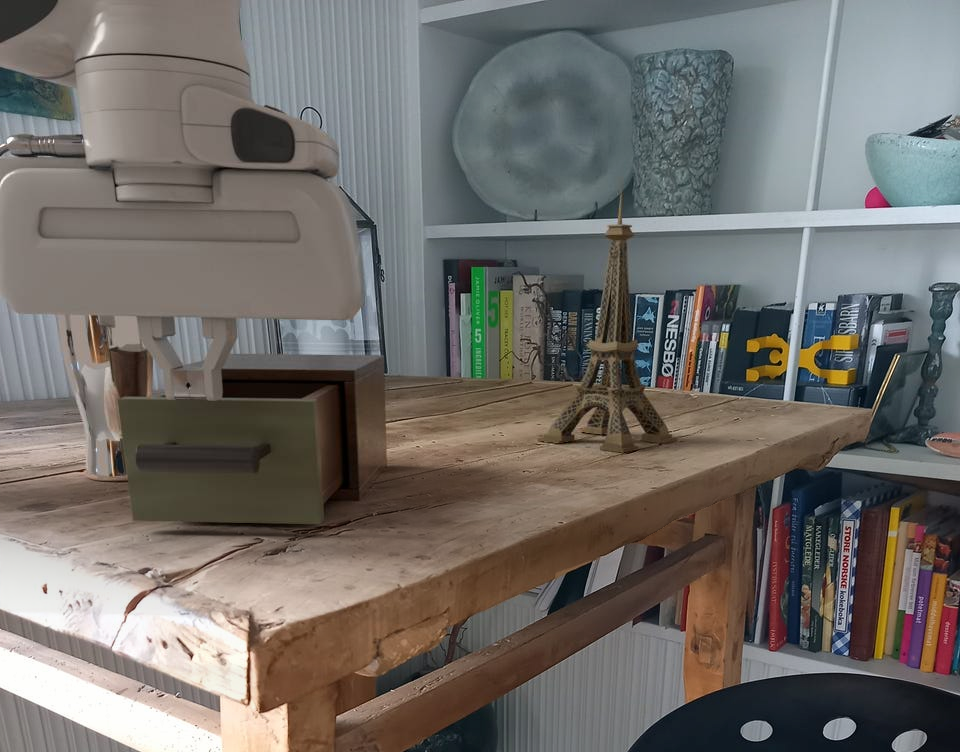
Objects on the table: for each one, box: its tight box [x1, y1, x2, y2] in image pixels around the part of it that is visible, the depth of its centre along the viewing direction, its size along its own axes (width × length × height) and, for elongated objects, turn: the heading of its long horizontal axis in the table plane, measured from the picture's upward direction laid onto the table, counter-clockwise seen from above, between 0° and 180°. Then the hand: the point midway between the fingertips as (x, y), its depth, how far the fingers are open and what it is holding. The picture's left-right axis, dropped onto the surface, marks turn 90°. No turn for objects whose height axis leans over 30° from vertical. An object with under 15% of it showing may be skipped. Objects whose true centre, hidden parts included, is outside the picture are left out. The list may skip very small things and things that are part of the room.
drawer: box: [117, 381, 347, 525], centre depth 63 cm, size 18×12×8 cm
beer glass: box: [57, 315, 154, 482], centre depth 77 cm, size 7×7×15 cm
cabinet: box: [183, 353, 388, 501], centre depth 77 cm, size 15×14×10 cm
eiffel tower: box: [537, 177, 678, 454], centre depth 94 cm, size 11×11×25 cm
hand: (194, 399), depth 55 cm, fingers closed
